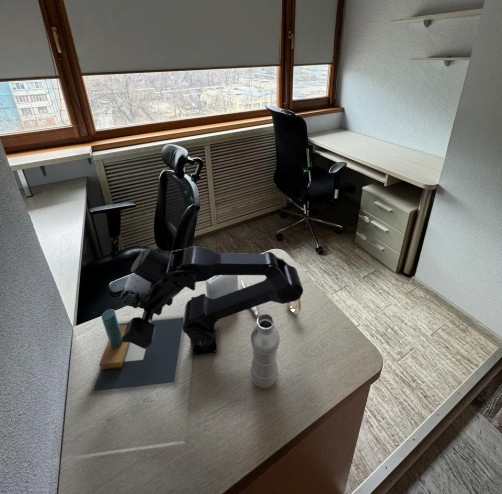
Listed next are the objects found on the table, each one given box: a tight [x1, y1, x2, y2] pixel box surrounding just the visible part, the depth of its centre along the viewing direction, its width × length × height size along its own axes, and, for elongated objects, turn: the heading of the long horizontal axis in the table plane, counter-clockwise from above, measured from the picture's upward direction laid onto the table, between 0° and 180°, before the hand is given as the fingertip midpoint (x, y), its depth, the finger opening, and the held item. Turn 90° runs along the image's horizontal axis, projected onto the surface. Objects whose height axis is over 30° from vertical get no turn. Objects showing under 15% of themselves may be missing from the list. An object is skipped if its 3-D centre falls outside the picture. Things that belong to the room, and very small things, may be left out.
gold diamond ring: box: [286, 298, 302, 315], centre depth 82 cm, size 7×3×8 cm, turn 24°
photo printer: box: [205, 275, 239, 299], centre depth 84 cm, size 10×4×12 cm, turn 123°
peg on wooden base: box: [98, 308, 130, 371], centre depth 70 cm, size 5×10×14 cm, turn 6°
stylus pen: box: [240, 279, 260, 318], centre depth 87 cm, size 15×3×2 cm, turn 22°
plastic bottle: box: [250, 313, 281, 389], centre depth 63 cm, size 6×7×20 cm
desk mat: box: [92, 317, 184, 392], centre depth 72 cm, size 19×17×1 cm
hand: (128, 323), depth 69 cm, fingers open, 9 cm apart
